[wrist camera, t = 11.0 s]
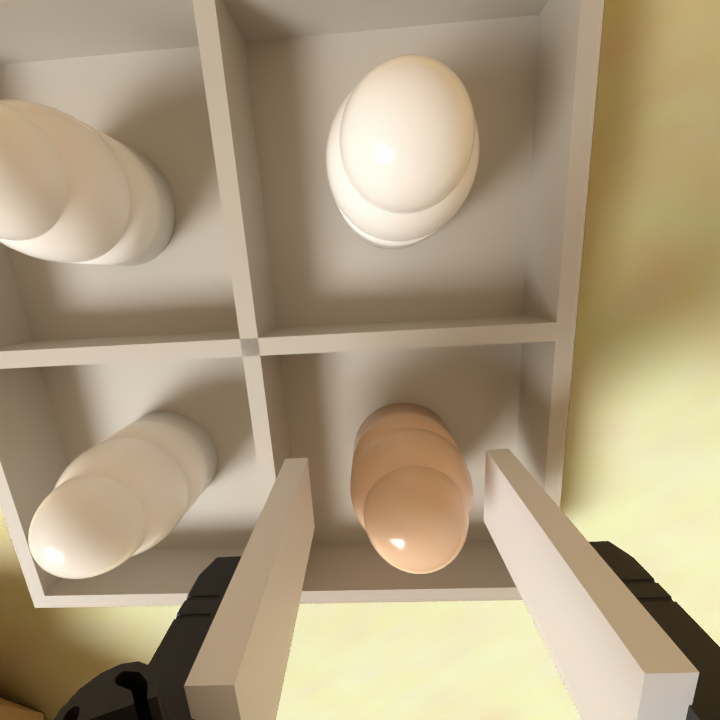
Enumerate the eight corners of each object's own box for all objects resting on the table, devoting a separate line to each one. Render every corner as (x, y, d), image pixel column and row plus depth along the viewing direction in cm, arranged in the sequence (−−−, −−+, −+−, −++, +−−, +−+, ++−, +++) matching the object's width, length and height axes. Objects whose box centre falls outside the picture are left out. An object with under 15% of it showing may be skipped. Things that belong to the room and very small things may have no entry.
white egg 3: (340, 252, 13) (316, 231, 7) (331, 127, 12) (296, -9, 6) (453, 245, 13) (517, 218, 7) (453, 117, 12) (529, -33, 6)
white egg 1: (78, 268, 13) (-134, 260, 8) (51, 148, 12) (-215, 39, 7) (183, 263, 13) (44, 251, 7) (164, 140, 12) (-14, 22, 6)
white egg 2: (134, 499, 16) (2, 621, 10) (114, 413, 15) (-45, 495, 9) (224, 496, 15) (141, 619, 10) (209, 409, 14) (108, 490, 9)
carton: (92, 551, 17) (34, 608, 14) (-46, 60, 12) (-176, -8, 9) (519, 541, 16) (551, 599, 13) (550, 4, 11) (612, -91, 8)
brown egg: (356, 493, 15) (348, 618, 10) (350, 404, 14) (338, 485, 9) (452, 490, 15) (500, 615, 9) (452, 400, 14) (507, 480, 8)
